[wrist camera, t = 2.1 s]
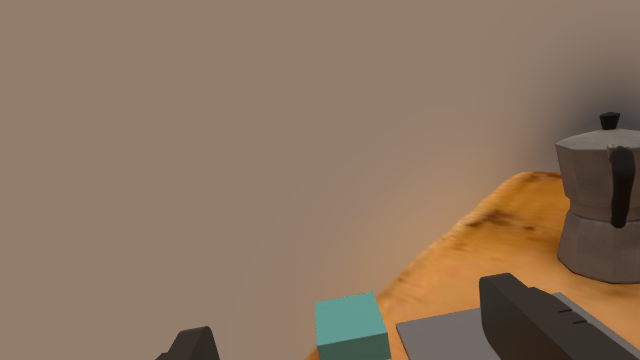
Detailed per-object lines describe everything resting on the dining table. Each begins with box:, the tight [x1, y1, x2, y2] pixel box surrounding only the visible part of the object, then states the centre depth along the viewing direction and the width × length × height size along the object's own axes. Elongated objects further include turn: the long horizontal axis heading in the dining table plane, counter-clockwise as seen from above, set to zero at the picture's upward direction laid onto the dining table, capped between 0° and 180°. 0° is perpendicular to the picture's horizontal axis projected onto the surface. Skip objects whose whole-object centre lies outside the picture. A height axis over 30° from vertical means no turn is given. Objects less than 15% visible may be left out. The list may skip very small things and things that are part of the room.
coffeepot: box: [555, 112, 640, 284], centre depth 35 cm, size 15×9×18 cm, turn 146°
